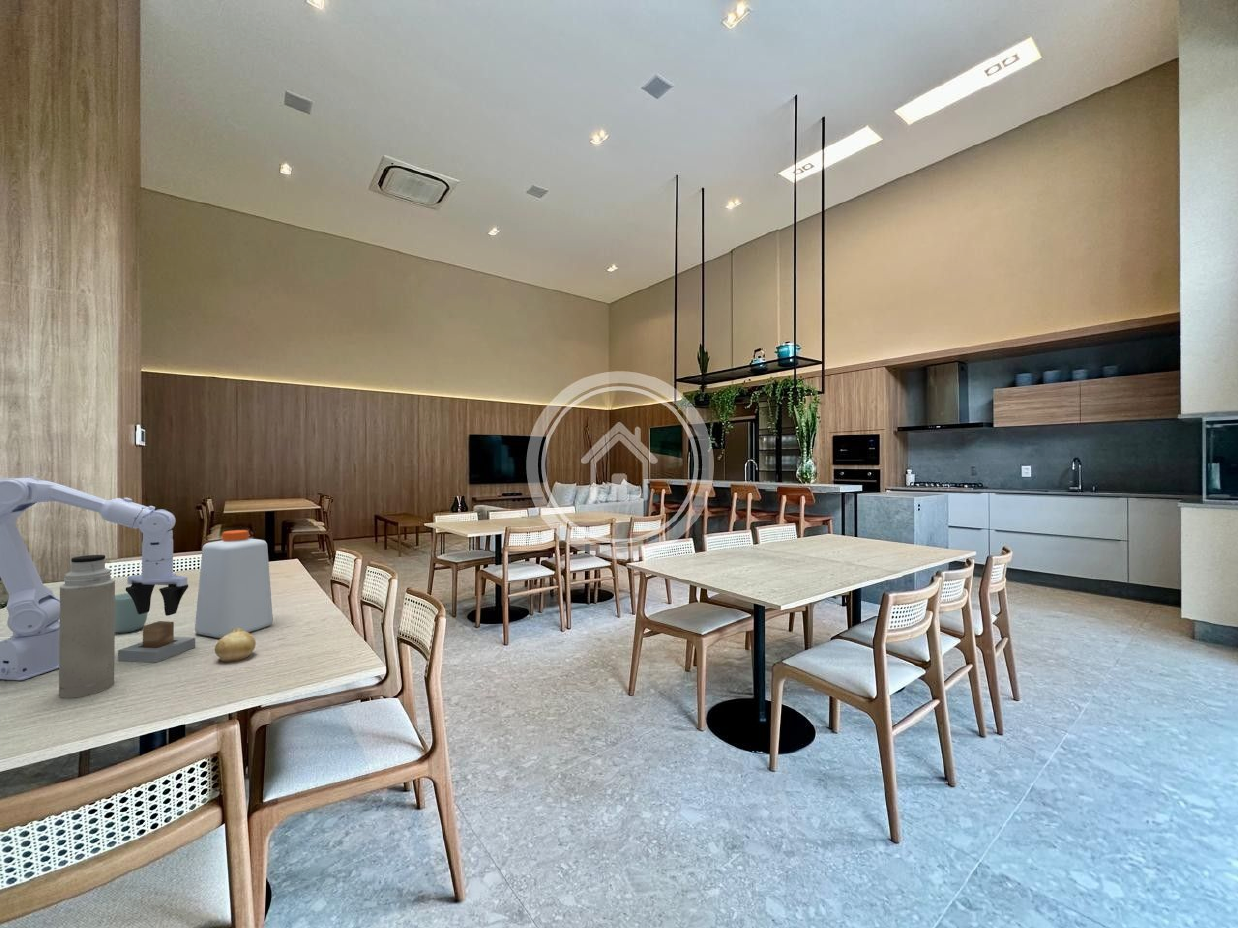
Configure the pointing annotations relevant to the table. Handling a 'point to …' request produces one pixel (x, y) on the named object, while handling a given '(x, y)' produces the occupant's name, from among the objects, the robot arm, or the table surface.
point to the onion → (235, 645)
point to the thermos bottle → (86, 628)
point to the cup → (127, 614)
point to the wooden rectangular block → (158, 634)
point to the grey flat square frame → (156, 651)
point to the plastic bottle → (233, 586)
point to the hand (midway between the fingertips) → (157, 613)
